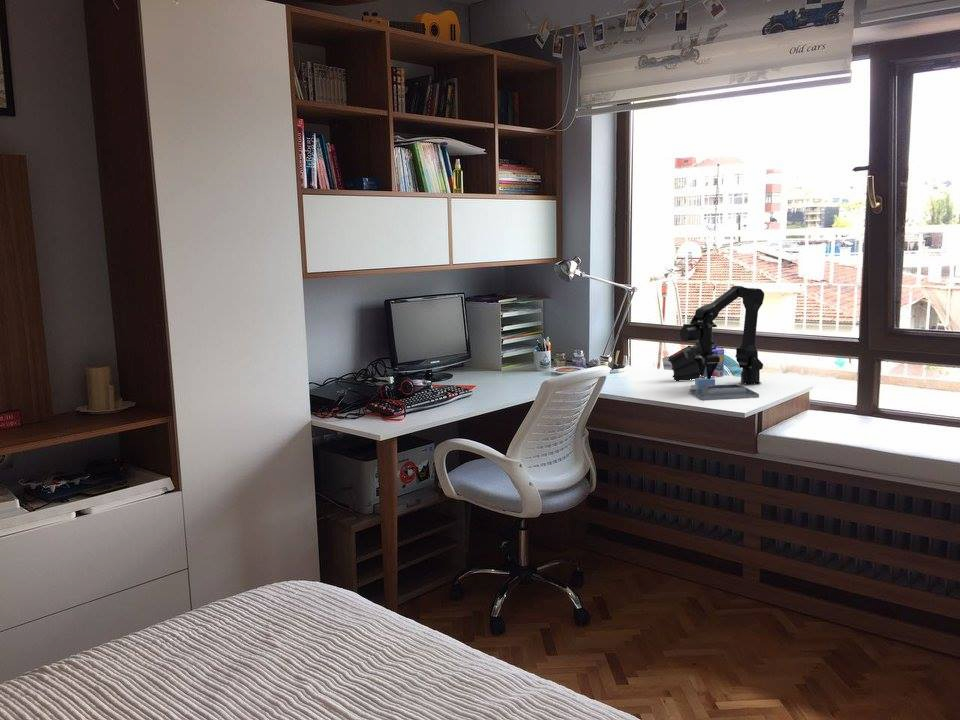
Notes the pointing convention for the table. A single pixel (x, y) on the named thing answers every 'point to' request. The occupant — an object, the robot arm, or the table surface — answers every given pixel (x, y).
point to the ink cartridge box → (720, 367)
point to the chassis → (723, 392)
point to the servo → (702, 382)
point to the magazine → (684, 366)
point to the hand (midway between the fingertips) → (705, 376)
